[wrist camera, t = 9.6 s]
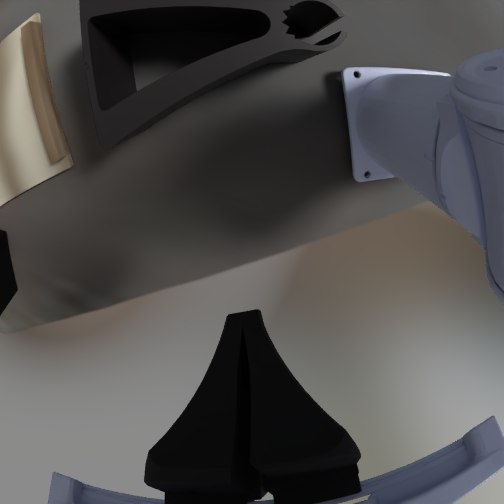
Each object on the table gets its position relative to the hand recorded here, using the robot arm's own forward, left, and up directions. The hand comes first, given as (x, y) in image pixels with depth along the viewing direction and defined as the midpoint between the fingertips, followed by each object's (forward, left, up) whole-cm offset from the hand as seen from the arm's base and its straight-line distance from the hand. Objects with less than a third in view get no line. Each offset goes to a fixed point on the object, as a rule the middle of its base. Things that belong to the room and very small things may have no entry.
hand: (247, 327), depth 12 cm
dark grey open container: (+5, -13, -7) cm, 15 cm away
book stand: (+17, -15, -10) cm, 25 cm away
